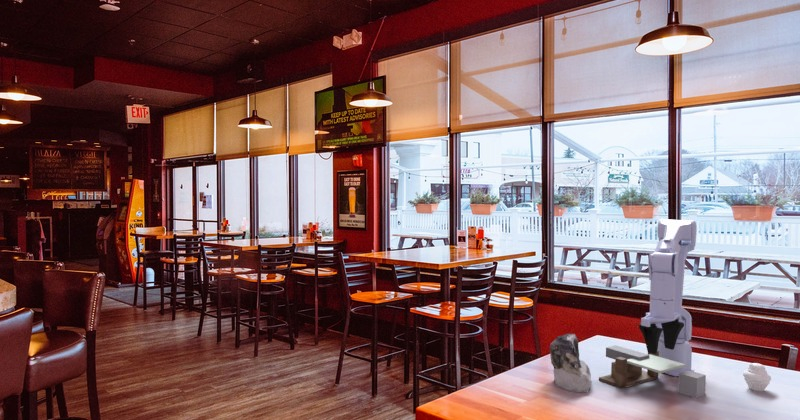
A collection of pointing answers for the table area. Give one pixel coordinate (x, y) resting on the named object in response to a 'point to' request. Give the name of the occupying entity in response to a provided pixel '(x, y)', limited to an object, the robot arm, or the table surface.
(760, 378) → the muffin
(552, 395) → the table surface
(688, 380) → the granite cube
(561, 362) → the stone
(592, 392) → the table surface
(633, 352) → the trapdoor
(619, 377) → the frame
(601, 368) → the table surface
